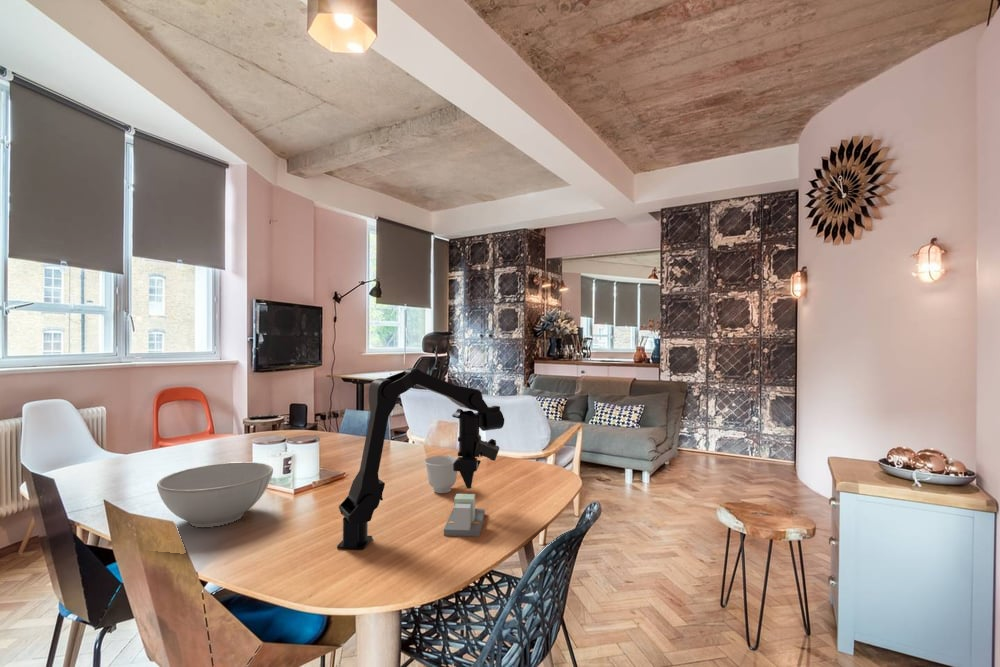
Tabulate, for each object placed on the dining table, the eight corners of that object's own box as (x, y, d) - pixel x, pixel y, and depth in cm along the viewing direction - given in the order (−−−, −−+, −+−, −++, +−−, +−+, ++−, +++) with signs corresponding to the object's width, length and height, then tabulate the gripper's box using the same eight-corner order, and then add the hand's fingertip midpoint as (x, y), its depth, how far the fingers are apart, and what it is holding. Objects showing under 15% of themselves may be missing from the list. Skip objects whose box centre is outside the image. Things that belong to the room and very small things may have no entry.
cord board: (479, 536, 112) (479, 508, 112) (443, 535, 112) (444, 507, 113) (484, 514, 127) (484, 489, 127) (453, 513, 127) (453, 488, 128)
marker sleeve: (473, 522, 116) (473, 499, 116) (454, 522, 116) (454, 498, 116) (474, 516, 120) (475, 494, 120) (456, 516, 120) (456, 493, 120)
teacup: (468, 484, 154) (468, 454, 155) (452, 498, 140) (452, 466, 140) (436, 481, 157) (436, 452, 158) (417, 494, 143) (417, 463, 143)
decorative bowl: (292, 512, 127) (293, 470, 127) (187, 549, 104) (189, 497, 104) (239, 496, 141) (240, 457, 141) (136, 525, 117) (137, 479, 118)
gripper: (495, 440, 116) (495, 500, 116) (499, 426, 135) (499, 478, 135) (453, 439, 117) (452, 499, 117) (463, 426, 136) (462, 478, 135)
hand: (469, 488), depth 126 cm, fingers closed
